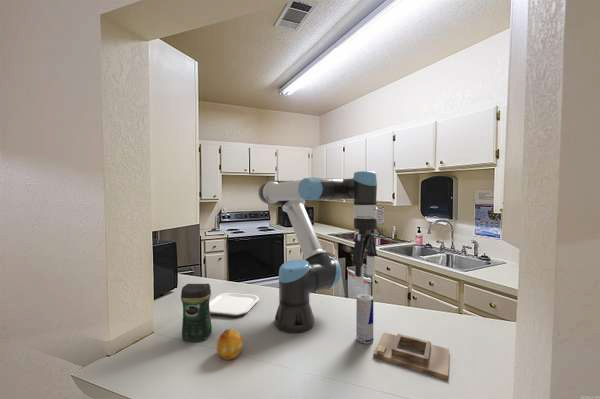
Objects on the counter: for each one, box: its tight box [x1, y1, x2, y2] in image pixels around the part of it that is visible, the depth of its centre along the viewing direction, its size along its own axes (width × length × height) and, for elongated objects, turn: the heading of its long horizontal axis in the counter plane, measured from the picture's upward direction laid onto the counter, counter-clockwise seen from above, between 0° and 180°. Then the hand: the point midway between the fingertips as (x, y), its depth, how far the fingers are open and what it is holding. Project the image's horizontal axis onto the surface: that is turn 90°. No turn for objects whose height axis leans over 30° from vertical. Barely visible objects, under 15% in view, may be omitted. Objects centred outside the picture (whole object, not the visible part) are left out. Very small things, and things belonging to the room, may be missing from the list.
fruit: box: [216, 328, 244, 360], centre depth 83 cm, size 8×8×8 cm
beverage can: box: [355, 293, 374, 344], centre depth 90 cm, size 6×6×15 cm
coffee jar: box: [180, 283, 213, 342], centre depth 93 cm, size 10×8×19 cm
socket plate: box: [372, 331, 450, 381], centre depth 82 cm, size 20×14×3 cm
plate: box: [209, 292, 260, 317], centre depth 118 cm, size 21×21×2 cm
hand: (365, 279), depth 90 cm, fingers open, 13 cm apart
